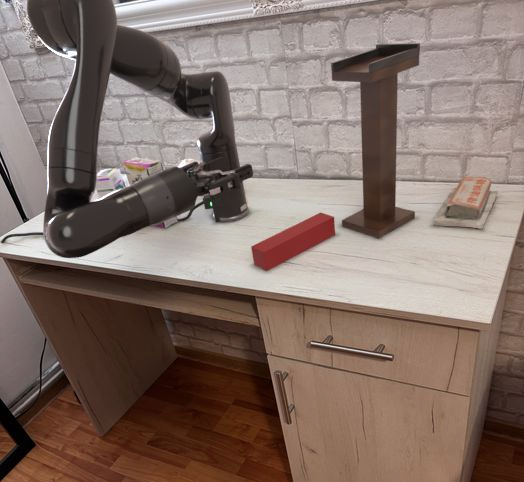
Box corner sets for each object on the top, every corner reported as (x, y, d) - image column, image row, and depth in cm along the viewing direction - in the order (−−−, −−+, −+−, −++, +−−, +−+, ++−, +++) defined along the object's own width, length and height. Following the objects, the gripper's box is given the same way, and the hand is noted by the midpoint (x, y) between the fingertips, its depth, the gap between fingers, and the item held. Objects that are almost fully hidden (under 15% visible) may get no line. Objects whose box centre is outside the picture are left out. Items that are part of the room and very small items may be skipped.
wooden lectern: (375, 240, 102) (373, 59, 81) (338, 228, 110) (328, 59, 89) (414, 218, 108) (422, 42, 87) (377, 208, 115) (376, 44, 94)
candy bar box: (140, 222, 132) (121, 162, 122) (155, 215, 135) (136, 155, 125) (164, 229, 125) (145, 166, 115) (179, 221, 128) (162, 159, 118)
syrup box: (129, 227, 130) (110, 174, 121) (110, 229, 132) (90, 176, 123) (137, 218, 135) (119, 167, 126) (118, 220, 136) (100, 169, 127)
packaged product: (454, 173, 112) (500, 175, 107) (452, 194, 115) (497, 196, 110) (434, 205, 100) (485, 208, 96) (433, 226, 103) (482, 230, 99)
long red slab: (266, 271, 99) (263, 252, 97) (254, 265, 102) (250, 246, 100) (335, 235, 107) (334, 216, 105) (322, 230, 110) (320, 212, 108)
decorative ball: (172, 201, 148) (167, 160, 144) (205, 199, 151) (201, 159, 148) (178, 200, 140) (173, 157, 136) (212, 198, 143) (208, 156, 140)
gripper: (176, 183, 73) (257, 150, 80) (136, 168, 83) (212, 139, 90) (188, 228, 78) (264, 193, 85) (149, 209, 88) (220, 179, 94)
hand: (237, 165), depth 87 cm, fingers open, 8 cm apart
